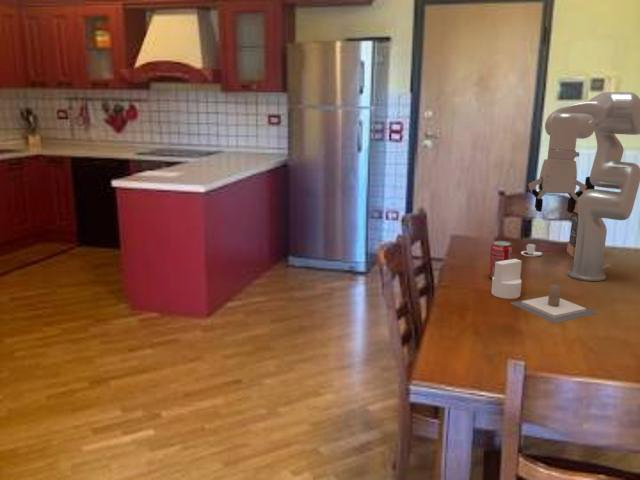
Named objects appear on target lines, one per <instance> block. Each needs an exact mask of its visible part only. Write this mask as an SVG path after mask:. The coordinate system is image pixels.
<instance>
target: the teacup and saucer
mask: <svg viewBox="0 0 640 480" xmlns="http://www.w3.org/2000/svg"><path fill="white" fill-rule="evenodd" d="M524 253H527V254H524ZM520 254H521V255H523V256H525V257H526V256H527V257H531V255H532V256H533V257H541V256H542V255H543V252H542V251H536V245H535V244H532V243H528V244H526V250H523V251H521V252H520Z"/></svg>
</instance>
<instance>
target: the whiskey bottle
mask: <svg viewBox="0 0 640 480" xmlns="http://www.w3.org/2000/svg"><path fill="white" fill-rule="evenodd" d="M584 181H585V183H584V185H586V186H587V188H586V189H585V190H588V189H596V188H595V187H596V186H594V185H592V184H591V182H590V176H586V177H585V180H584ZM577 230H578V202H576V205H575V210H574V211H573V213H572V218H571V225H570V233H569V239H568V240H569V241H568V243H567V246H566V252H567V254H569V255H570V256H571V257H572V258H574V256H575V247H576V238H577Z"/></svg>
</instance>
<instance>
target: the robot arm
mask: <svg viewBox="0 0 640 480" xmlns="http://www.w3.org/2000/svg"><path fill="white" fill-rule="evenodd" d="M544 130H545V133H546V134H547V135H548V136H549V142H548V150H547V159H546V158H544V159H543V162H542V165H541V169H540V172H539V178H537V179H535V180H534V181H532V182H531V181H530V182H529V183H528V184H527V185H528V189H529V190H530V193H531V194H532V195H533V197H534V198H535V203H534V209H535V211H537V212H538V213H541V212H542V211H543V204H544V203H543V202H544V199H543V197H544V195H546V194H567V195H568V196H569V198H568V200H567V209H566V212H568V213H571V214H573V211H574V210H575V205H576V204H577V203H578V230H577V238H576V247H575V256H574V257H573V265H572V266H573V267H572V268H570V269H569V270H568V271H567V275H568V276H569V277H571V278H573V279H577V280H580V281H587V282H601V281H604V280H606V278H607V274H606V273H605V272H604V271H605V270H609V269H611V265H610V264H609V263H604V256H605V250H606V249H605V248H606V240H607V234H608V232H607V230H608V229H607V227H606V226H607V225H606V223H605V222H604V221H603V219H607V220H608V219H609V220H614V221H615V220H616V221H625V220H628V219H629V218H630V216H631V215H632V212H633V209H634V205H635V201H636V199H637V194H638V190H639V188H640V165H638V164H636V163H635V162H627V161H622V158H623V156H624V155H623V154H624V151H625V150H624V147H623V145H622V143H621V141H620V140H619V138H618V137H617V136H616V135H630V136H633V135H634V136H637V135H640V97H639V95H637V94H636V93H635V92H629V91H605V92H601V93H599V94H597V95H595V96H593V97H591V99H589V100H587V101H584V102H579V103H575V104H571V105H566V106H563V107H562V106H561V107H560V108H557V109H555V110H554V111H552V112H551V113H550V114H549V115H548V116H547V118H546V120H545V123H544ZM593 134H595V139H596V152H595V156H594V159H593V163H592V167H591V170H590V174H589V177H590V182H591V184H592V185H594V186H595V187H598V188H604V189H596V188H595V189H588V190H585V189H586V188H587V186H586V185H585V183H583V182H581V181H579V180H577V179H578V172H577V171H578V170H577V168H578V167H577V161H576V160H575V159H576V158H579V157H580V152H577V151H576V150H577V149H576V147H577V146H576V145H577V140H578V139H579V140H580V139H581V140H582V139H588V138H590V137H591V136H592V135H593ZM536 186H537V187H538V189H537V190H538V191H537V190H536ZM577 187H579V189H578V190H577V191H576V189H577ZM605 189H606V190H605ZM607 189H613V191H612V190H607ZM614 190H620V191H614Z"/></svg>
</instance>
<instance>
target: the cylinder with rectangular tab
mask: <svg viewBox="0 0 640 480" xmlns="http://www.w3.org/2000/svg"><path fill="white" fill-rule="evenodd" d="M522 263H523V262H522V260H521V259H518V258H511V259H510V260H505V261H499V262H495V272H494V277H493V278H491V279H492V280H491V281H492V282H491V295H492V296H494V297H496V298H500V299H506V300H507V299H508V300H510V299H511V300H512V299H513V300H514V299H518V298H520V297H521V292H522V279H521V271H522Z"/></svg>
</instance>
